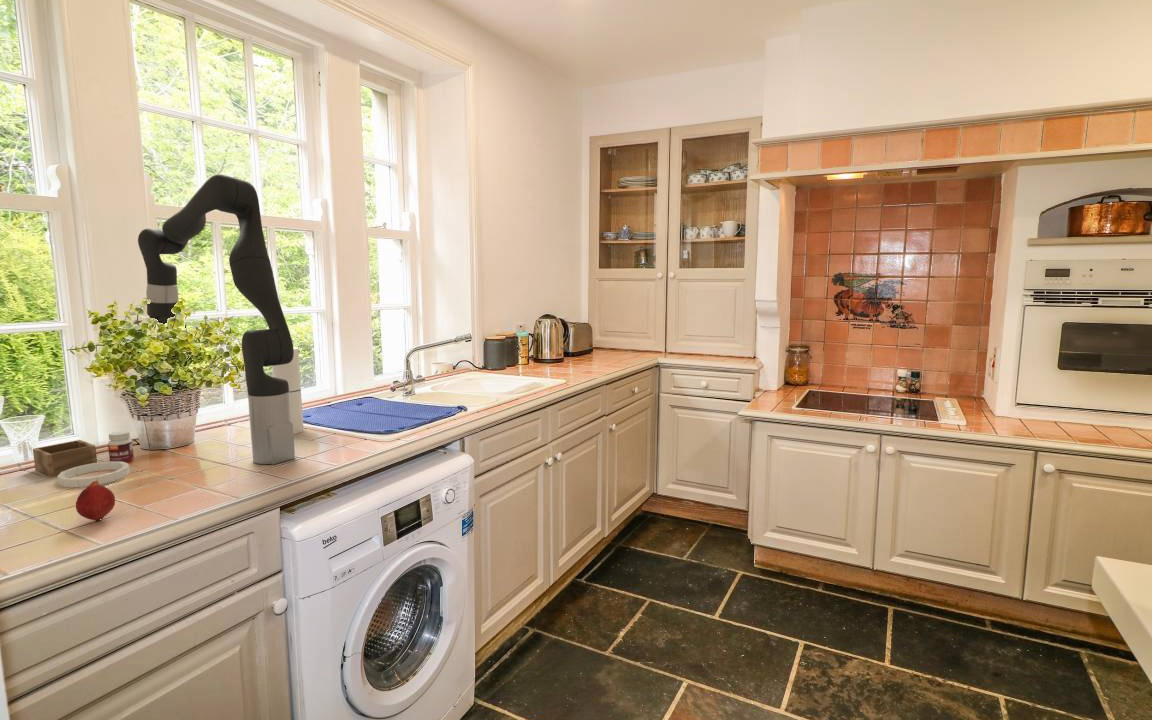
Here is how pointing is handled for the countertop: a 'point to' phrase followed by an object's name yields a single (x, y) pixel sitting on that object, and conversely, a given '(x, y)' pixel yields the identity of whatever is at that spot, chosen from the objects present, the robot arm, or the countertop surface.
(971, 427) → the countertop surface
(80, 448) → the walnut crate
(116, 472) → the white ring
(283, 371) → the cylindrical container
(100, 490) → the onion
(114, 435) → the pill bottle
